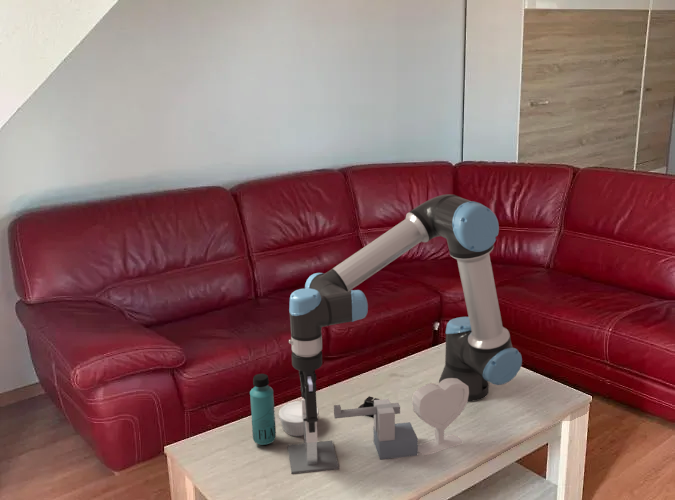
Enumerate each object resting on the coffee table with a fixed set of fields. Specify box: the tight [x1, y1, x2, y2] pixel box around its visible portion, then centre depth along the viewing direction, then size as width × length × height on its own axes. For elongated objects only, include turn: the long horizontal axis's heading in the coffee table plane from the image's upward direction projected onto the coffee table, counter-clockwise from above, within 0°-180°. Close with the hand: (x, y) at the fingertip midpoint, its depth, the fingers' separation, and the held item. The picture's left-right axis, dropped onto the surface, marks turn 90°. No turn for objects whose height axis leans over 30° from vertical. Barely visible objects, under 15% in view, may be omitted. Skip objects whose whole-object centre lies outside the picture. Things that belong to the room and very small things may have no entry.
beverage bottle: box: [249, 373, 277, 446], centre depth 178 cm, size 6×7×20 cm
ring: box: [303, 414, 318, 465], centre depth 173 cm, size 2×8×10 cm, turn 9°
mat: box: [287, 440, 340, 475], centre depth 174 cm, size 12×12×1 cm
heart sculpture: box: [411, 378, 469, 456], centre depth 176 cm, size 16×5×18 cm, turn 117°
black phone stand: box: [357, 395, 381, 419], centre depth 195 cm, size 12×7×5 cm, turn 60°
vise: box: [333, 398, 419, 460], centre depth 175 cm, size 21×8×14 cm, turn 99°
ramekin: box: [278, 400, 320, 437], centre depth 188 cm, size 11×11×5 cm
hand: (309, 431), depth 172 cm, fingers open, 9 cm apart
